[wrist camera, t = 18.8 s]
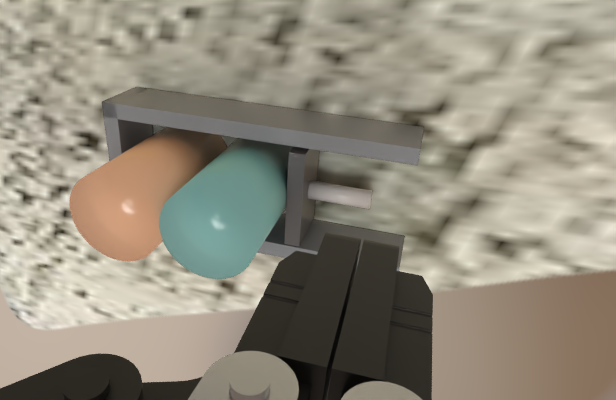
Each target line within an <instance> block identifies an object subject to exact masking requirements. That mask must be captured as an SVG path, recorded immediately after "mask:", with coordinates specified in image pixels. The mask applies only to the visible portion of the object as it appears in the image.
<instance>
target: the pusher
mask: <svg viewBox="0 0 616 400" xmlns="http://www.w3.org/2000/svg"><path fill="white" fill-rule="evenodd" d="M318 161H319V150H314V149H307V148H301V147H293V148H292V149H291V150H290V152H289V159H288V180H287V200H286V221H285V242H284V244H288V245H293V246H298V247H299V246H300V244H301V242H302V240H303V238H304V236H305V234H306V233H307V231H308V229H309V227H310V225H311V223H312V221H313V219H314V212H315V200H319V201H325V202H331V203H336V204H342V205H348V206H354V207H359V208H365V209H370V205H371V200H372V193H373V191H371V190H365V189H359V188H353V187H348V186H342V185H336V184H330V183H324V182H318V181H317V174H318Z"/></svg>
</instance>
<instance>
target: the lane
mask: <svg viewBox="0 0 616 400" xmlns="http://www.w3.org/2000/svg"><path fill="white" fill-rule="evenodd" d="M102 108H103V116H104V123H105V131H106V138H107V146H108V154H109V161H111V160H113V159H114V158H116V157H117V156H119V155H121V154H122V153H124V152H126V151H127V150H129V149H130V148H132V147H134V146H135V145H137V144H139V143H140V142H142V141H143V140H145V139H147V138H148V137H150V136H152V135H153V127H152V125H159V126H165V127H172V128H178V129H185V130H191V131H197V132H204V133H210V134H217V135H223V136H230V137H236V138H243V139H249V140H256V141H262V142H269V143H275V144H282V145H288V146H294V147H301V148H307V149H314V150H320V151H327V152H333V153H340V154H346V155H353V156H359V157H366V158H372V159H378V160H385V161H391V162H398V163H404V164H411V165H417V166H418V160H419V155H420V149H421V143H422V137H423V130H424V127H420V126H413V125H406V124H399V123H392V122H385V121H377V120H370V119H363V118H356V117H349V116H342V115H334V114H327V113H320V112H313V111H306V110H298V109H291V108H284V107H277V106H270V105H263V104H255V103H248V102H241V101H234V100H227V99H220V98H212V97H205V96H198V95H191V94H184V93H177V92H169V91H162V90H155V89H148V88H141V87H135V88H133V89H130V90H128V91H126V92H123V93H121V94H119V95H116V96H114V97H112V98H109V99H107V100H105V101H102ZM285 221H286V214H282V215H281V216H280V218H279V219H278V221H277V222H276V224H275V225H274V227H273V228H272V230H271V232H270V233H269V235H268V236H267V238H266V239H265V241H264V242H263V244H262V245H261V247H260V249H259V250H258V253H263V254H268V255H273V256H278V257H283V258H286V257H288V256H289V255H291V254H292V253H293V252H295V251H301V252H306V253H310V254H315V255H317V253H318V251H319V248H320V246H321V243H322V240H323V238H324V235H325V233H326V232H329V233H335V234H340V235H345V236H350V237H355V238H360V239H361V245H360V251H359V257H360V253H361V249H362V245H363V241H364V239H366V240H371V241H376V242H381V243H386V244H392V245H397V246H400V247H399V256H398V264H397V271H399V267H400V261H401V255H402V249H403V243H404V237H405V236H401V235H396V234H391V233H385V232H380V231H374V230H369V229H363V228H358V227H352V226H347V225H341V224H336V223H330V222H325V221H319V220H314V219H313V221H312V223H311V225H310V227H309V229H308V231H307V233H306V234H305V236H304V238H303V240H302V242H301V244H300V246H299V247H298V246H293V245H288V244H284V242H285ZM358 261H359V258H358ZM357 265H358V264H357Z"/></svg>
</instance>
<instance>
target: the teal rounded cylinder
mask: <svg viewBox="0 0 616 400" xmlns="http://www.w3.org/2000/svg"><path fill="white" fill-rule="evenodd" d="M293 147H294V146H288V145H282V144H275V143H269V142H262V141H256V140H249V139H243V138H238V139H237V140H235V141H234V142H233V143H232V144H231V145H230V146H229V147H227V148H226V149H225V150H224V151H223V152H222V153H221V154H219V155H218V156H217V157H216V158H215V159H214V160H213V161H211V162H210V163H209V164H208V165H207V166H206V167H205V168H203V169H202V170H201V171H200V172H199V173H198V174H197V175H195V176H194V177H193V178H192V179H191V180H190V181H189V182H187V183H186V184H185V185H184V186H183V187H182V188H181V189H179V190H178V191H177V192H176V193H175V194H174V195H173V196H171V197H170V198H169V199H168V200H167V201H166V203H165V204H164V206H163V208H162V210H161V214H160V219H159V227H160V233H161V237H162V239H163V242H164V244H165V246H166V248H167V249H168V251H169V252H170V254H171V255H172V256H173V257H174V258H175V259H176V260H177V261H178V262H179V263H180V264H181V265H182V266H184V267H185V268H186V269H188V270H190V271H191V272H193V273H195V274H198V275H200V276H203V277H207V278H212V279H226V278H230V277H233V276H236V275H238V274H240V273H241V272H242V271H244V270H245V269H246V268H247V267H248V266H249V264H250V262H251V261H252V259H253V258H254V256H255V255H256V253H257V252H258V250H259V249H260V247H261V245H262V244H263V242H264V241H265V239H266V238H267V236H268V235H269V233H270V232H271V230H272V228H273V227H274V225H275V224H276V222H277V221H278V219H279V218H280V216H281V215H282V213H283V211H284V210H285V208H286V200H287V180H288V159H289V152H290V150H291V149H292V148H293Z"/></svg>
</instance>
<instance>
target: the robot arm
mask: <svg viewBox="0 0 616 400" xmlns="http://www.w3.org/2000/svg"><path fill="white" fill-rule="evenodd" d="M360 245H361V239H360V238H355V237H350V236H345V235H340V234H335V233H329V232H326V233H325V235H324V238H323V240H322V243H321V246H320V248H319V251H318V253H317V255H315V254H310V253H306V252H301V251H295V252H293V253H292V254H291V255H289V256H288V257H286V258H285V259H284V260H282V261H281V262H279V264H278V266H277V268H276V270H275V272H274V274H273V276H272V278H271V281H270V283H269V284H268V286H267V288H266V290H265V292H264V296H263V297H262V298H261V300H260V302H259V304H258V306H257V308H256V310H255V312H254V314H253V316H252V318H251V320H250V322H249V324H248V326H247V328H246V330H245V332H244V334H243V336H242V338H241V340H240V342H239V344H238V347H237V348H236V350H235V352H234V353H233V354H230V355H227V356H225V357H223V358H221V359H219V360H218V361H216V362H215V363H214V364H213V365H212V366H211V367H210V368H209V369H208V370H207V371H206V373H205V374H204V376H203V377H201V378H198V379H193V380H188V381H178V382H151V383H149V382H148V383H142V380H141V375H140V373H139V371H138V369H137V368H136V367H135V365H134V364H133V363H131V362H130V361H129V360H127V359H125V358H123V357H120V356H117V355H112V354H92V355H86V356H82V357H78V358H76V359H73V360H70V361H68V362H65V363H63V364H60V365H58V366H55V367H53V368H50V369H48V370H45V371H43V372H40V373H38V374H35V375H33V376H30V377H28V378H25V379H23V380H21V381H18V382H16V383H13V384H11V385H8V386H6V387H3V388H1V389H0V400H432V399H431V392H432V390H431V389H432V388H431V387H432V308H433V305H432V304H433V295H432V293H431V291H430V289H429V287H428V286H427V284H426V282H425V280H424V279H423V277H422V276H419V275H414V274H409V273H405V272H400V271H397V264H398V256H399V247H400V246H397V245H392V244H386V243H381V242H376V241H371V240H366V239H364V241H363V245H362V249H361V253H360V257H359V251H360ZM358 258H359V261H358ZM357 264H358V265H357Z"/></svg>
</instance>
